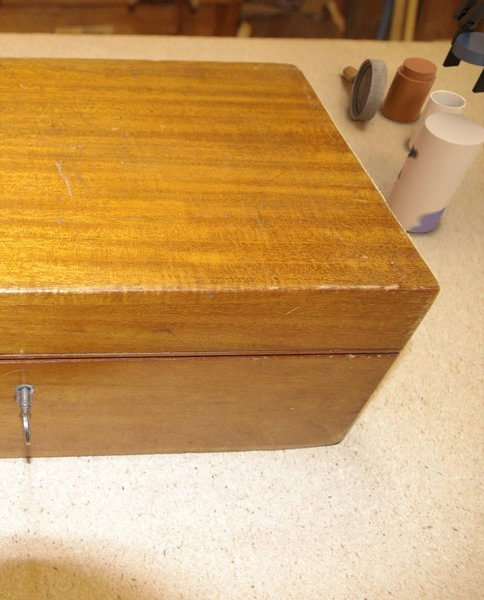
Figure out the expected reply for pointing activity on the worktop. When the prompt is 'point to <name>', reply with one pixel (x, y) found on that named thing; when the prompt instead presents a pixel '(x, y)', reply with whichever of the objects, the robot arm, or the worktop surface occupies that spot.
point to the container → (434, 170)
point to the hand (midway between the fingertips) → (464, 78)
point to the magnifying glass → (366, 88)
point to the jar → (409, 89)
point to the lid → (470, 48)
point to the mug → (439, 108)
